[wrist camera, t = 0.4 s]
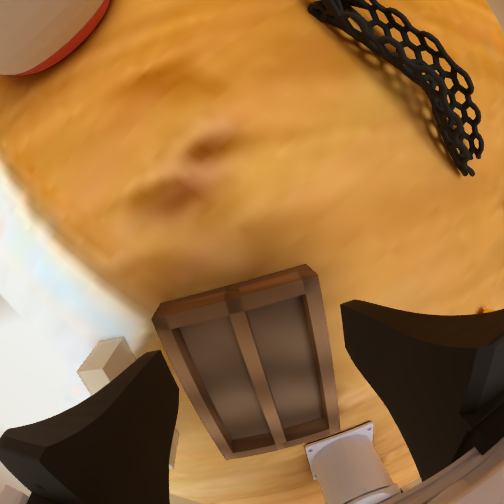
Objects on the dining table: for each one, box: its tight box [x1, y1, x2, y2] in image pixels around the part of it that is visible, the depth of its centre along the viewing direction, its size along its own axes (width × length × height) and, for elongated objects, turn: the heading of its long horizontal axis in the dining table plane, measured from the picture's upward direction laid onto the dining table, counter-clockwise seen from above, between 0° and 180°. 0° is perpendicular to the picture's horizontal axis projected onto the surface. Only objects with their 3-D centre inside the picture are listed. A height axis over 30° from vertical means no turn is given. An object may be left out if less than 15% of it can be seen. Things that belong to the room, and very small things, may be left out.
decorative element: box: [308, 0, 484, 177], centre depth 15 cm, size 22×5×6 cm, turn 48°
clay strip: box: [77, 336, 179, 469], centre depth 19 cm, size 12×2×5 cm, turn 15°
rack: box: [152, 264, 340, 460], centre depth 20 cm, size 16×11×3 cm
